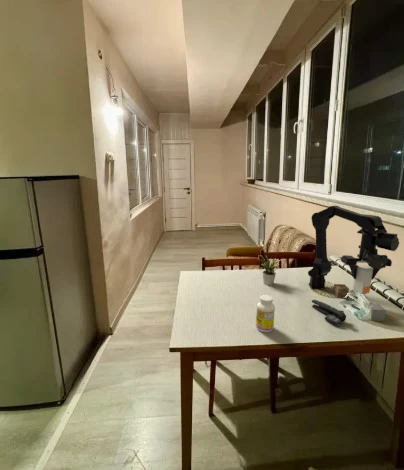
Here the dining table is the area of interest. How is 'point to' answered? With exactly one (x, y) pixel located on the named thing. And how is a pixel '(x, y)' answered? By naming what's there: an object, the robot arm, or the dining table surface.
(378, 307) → the slate block
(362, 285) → the skincare box
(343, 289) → the walnut block
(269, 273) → the house plant
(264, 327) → the supplement bottle
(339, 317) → the can opener
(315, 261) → the robot arm
